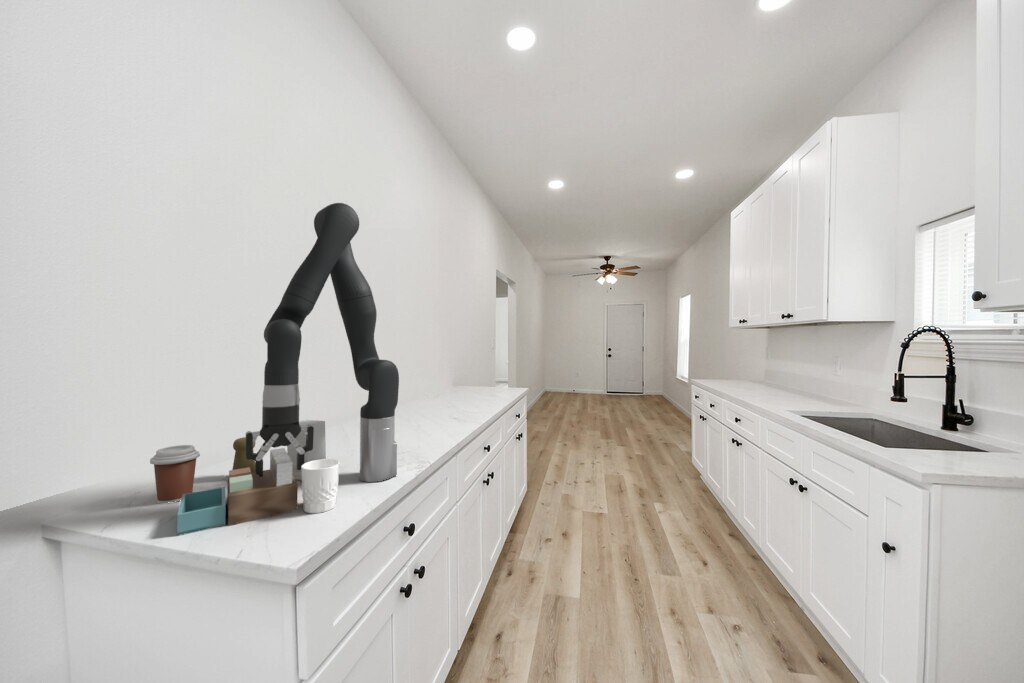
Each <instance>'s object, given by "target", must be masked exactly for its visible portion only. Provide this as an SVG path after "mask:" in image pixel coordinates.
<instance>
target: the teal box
mask: <svg viewBox="0 0 1024 683" xmlns="http://www.w3.org/2000/svg"><path fill="white" fill-rule="evenodd" d="M226 504H227V503H226V486H221V487H215V488H210V489H204V490H198V491H193V492H192V493H186V494H183V495H182V499H181V501H180V504H179V508H178V512H177V517H176V518H177V523H176V524H177V528H176V532H177V534H176V535H178V536H181V535H180V534H182V535H185V534H184V533H187V534H191V533H195V531H196V532H199V530H200V531H205V530H208V529H212V528H217V527H218V528H219V527H221V526H222V527H223V526H226V508H227V507H226Z"/></svg>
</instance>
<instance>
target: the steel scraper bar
mask: <svg viewBox="0 0 1024 683" xmlns="http://www.w3.org/2000/svg"><path fill="white" fill-rule="evenodd" d="M269 452H270V453H269V460H270V461H269V469H270V471H271V474H272V476H273V479H274V481H275V484H276V486H277V487H278V486H284V485H289V484H292V460H291V458H290V457H289V455H288V453H287V449H285V447H282V448H275V449H269Z"/></svg>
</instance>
